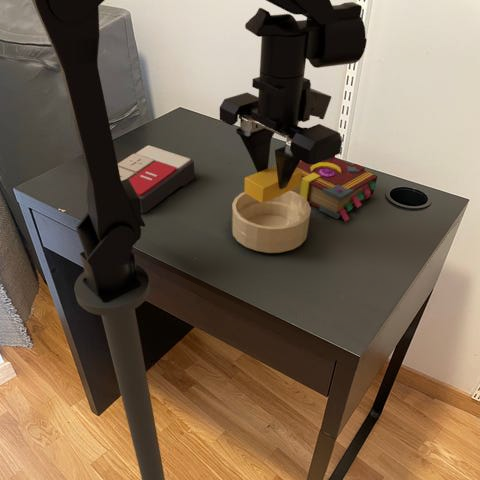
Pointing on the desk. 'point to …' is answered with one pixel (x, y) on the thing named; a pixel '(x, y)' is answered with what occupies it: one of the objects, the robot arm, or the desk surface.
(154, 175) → the calculator
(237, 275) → the desk surface
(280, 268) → the desk surface
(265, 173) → the block
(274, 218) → the bowl
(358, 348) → the desk surface
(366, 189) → the decorative book
